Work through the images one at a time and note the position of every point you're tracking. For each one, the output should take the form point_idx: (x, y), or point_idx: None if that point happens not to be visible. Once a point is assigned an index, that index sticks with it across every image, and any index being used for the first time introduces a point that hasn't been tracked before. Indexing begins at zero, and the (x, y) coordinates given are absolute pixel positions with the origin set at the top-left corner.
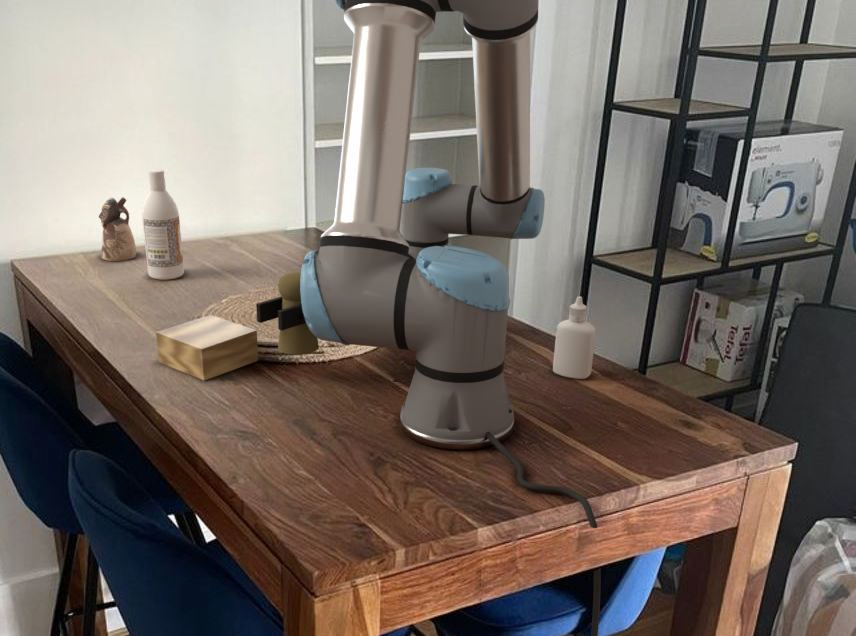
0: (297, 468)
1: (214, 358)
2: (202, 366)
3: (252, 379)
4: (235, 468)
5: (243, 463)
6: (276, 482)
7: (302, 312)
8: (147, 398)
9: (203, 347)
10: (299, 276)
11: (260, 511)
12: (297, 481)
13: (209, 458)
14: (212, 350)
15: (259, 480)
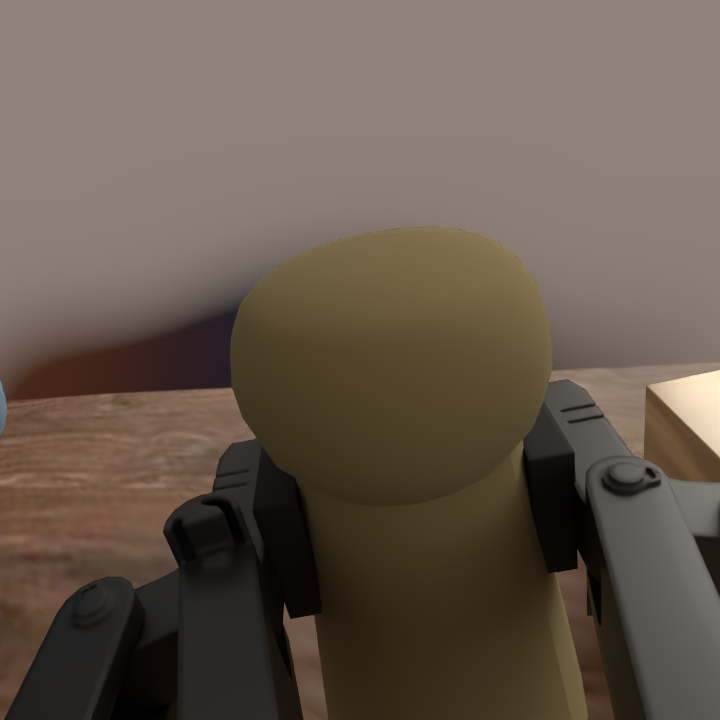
0: (27, 479)
1: (675, 464)
2: (646, 442)
3: (576, 613)
4: (144, 411)
5: (143, 423)
6: (42, 439)
7: (245, 442)
8: (574, 372)
9: (662, 391)
10: (310, 263)
11: (22, 402)
12: (3, 463)
13: (213, 393)
14: (673, 431)
15: (76, 424)
